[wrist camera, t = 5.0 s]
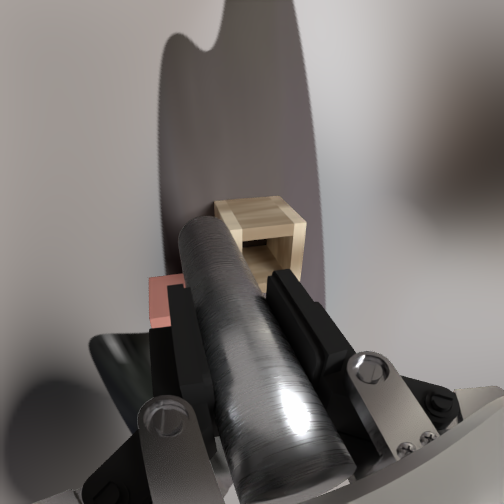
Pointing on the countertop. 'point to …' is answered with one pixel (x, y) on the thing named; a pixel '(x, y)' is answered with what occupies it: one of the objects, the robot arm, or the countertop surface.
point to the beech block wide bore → (265, 234)
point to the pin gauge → (257, 379)
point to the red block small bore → (161, 299)
